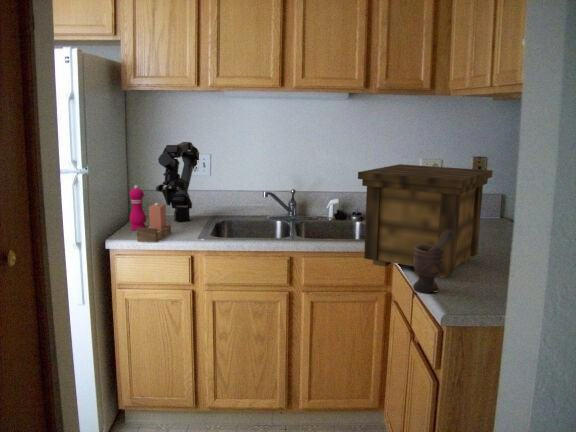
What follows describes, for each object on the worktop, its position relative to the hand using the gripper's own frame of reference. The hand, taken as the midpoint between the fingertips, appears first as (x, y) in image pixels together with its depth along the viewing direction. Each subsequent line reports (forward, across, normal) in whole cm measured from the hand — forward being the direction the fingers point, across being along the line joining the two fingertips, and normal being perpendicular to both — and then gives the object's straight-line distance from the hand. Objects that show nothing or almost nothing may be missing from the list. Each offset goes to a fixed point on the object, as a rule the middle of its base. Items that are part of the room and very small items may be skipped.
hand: (168, 205), depth 235 cm
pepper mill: (+12, +10, +9) cm, 18 cm away
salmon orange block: (+12, -7, +7) cm, 15 cm away
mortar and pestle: (+34, -118, -34) cm, 128 cm away
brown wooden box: (+16, -9, +9) cm, 20 cm away
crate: (+24, -98, -55) cm, 115 cm away
